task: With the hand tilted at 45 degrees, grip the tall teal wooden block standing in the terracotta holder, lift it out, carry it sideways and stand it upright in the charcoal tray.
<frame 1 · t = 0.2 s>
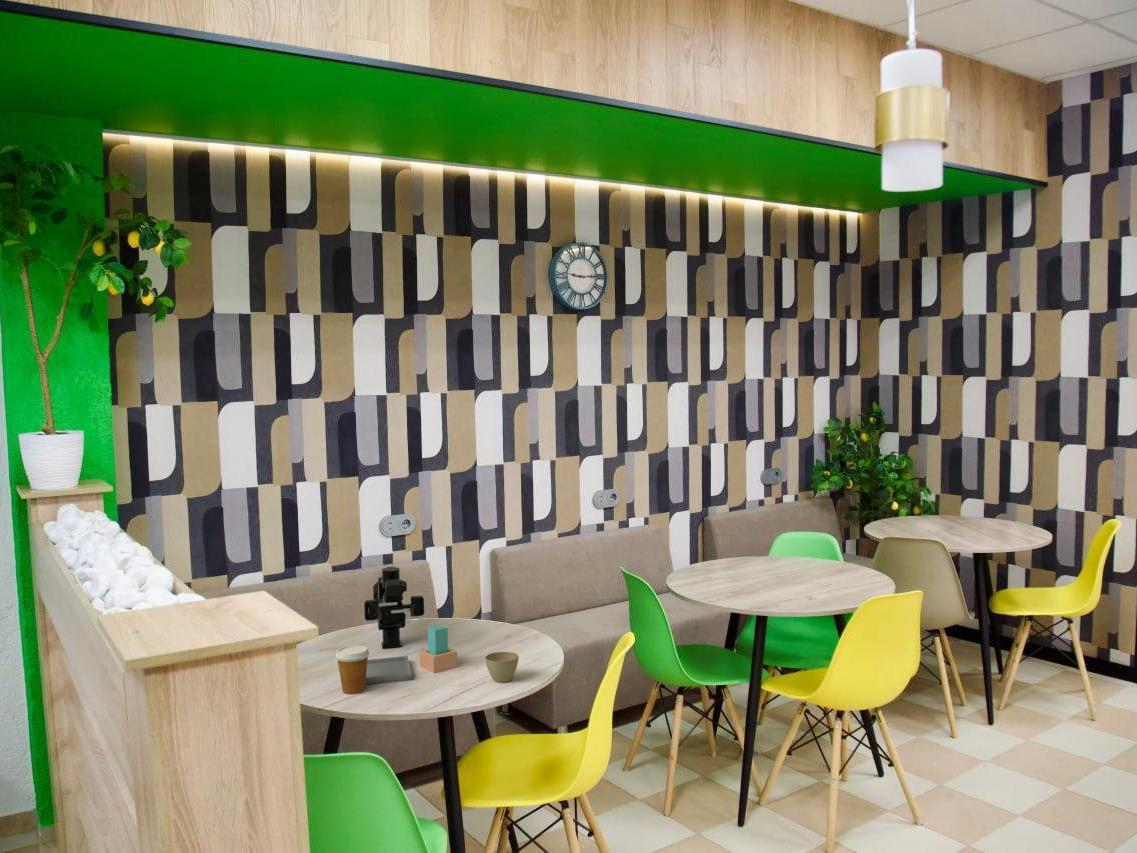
hand: (396, 615, 284), 17 cm above the table, tool horizontal, fingers open, 9 cm apart
holder: (438, 667, 285), on the table
flower pot: (502, 680, 272), on the table
tray: (383, 673, 280), on the table
disposable coffee cup: (353, 691, 265), on the table
teal block: (438, 647, 285), in the holder
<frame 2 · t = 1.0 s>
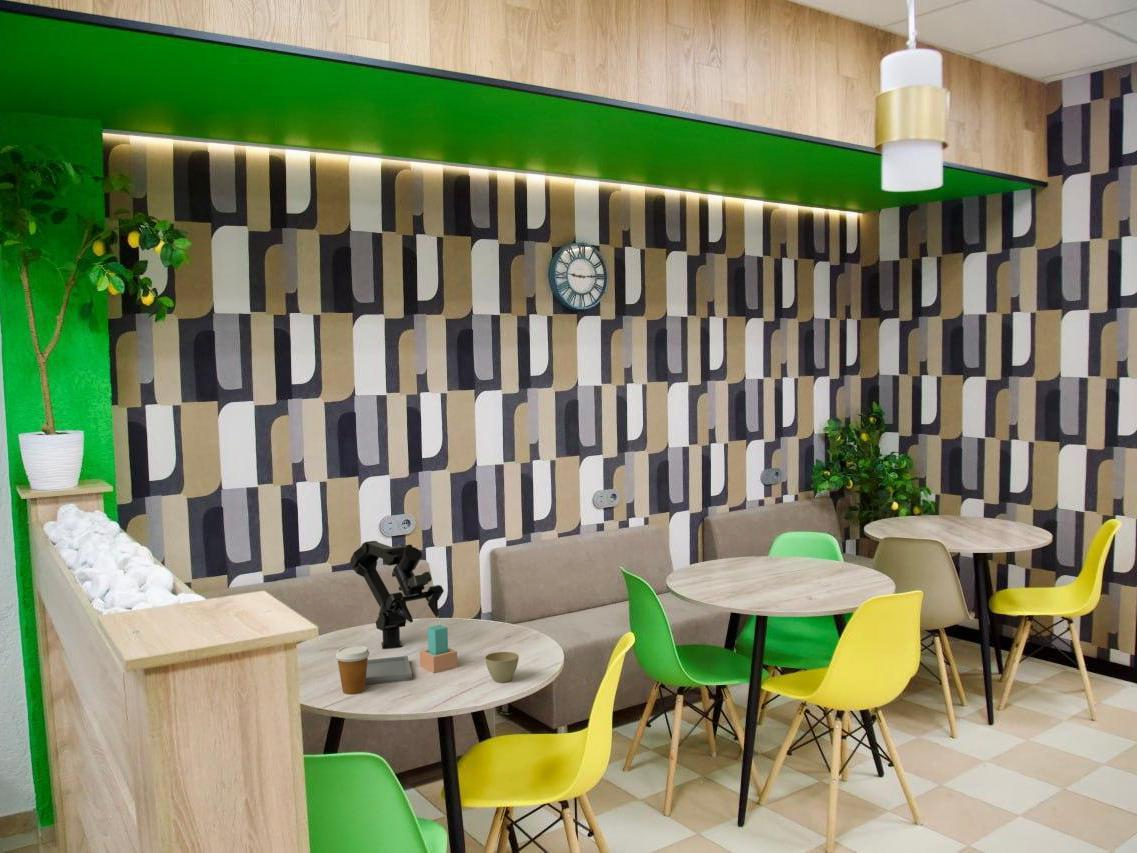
hand: (424, 619, 290), 14 cm above the table, tool tilted 45°, fingers open, 9 cm apart
nothing on the table moved.
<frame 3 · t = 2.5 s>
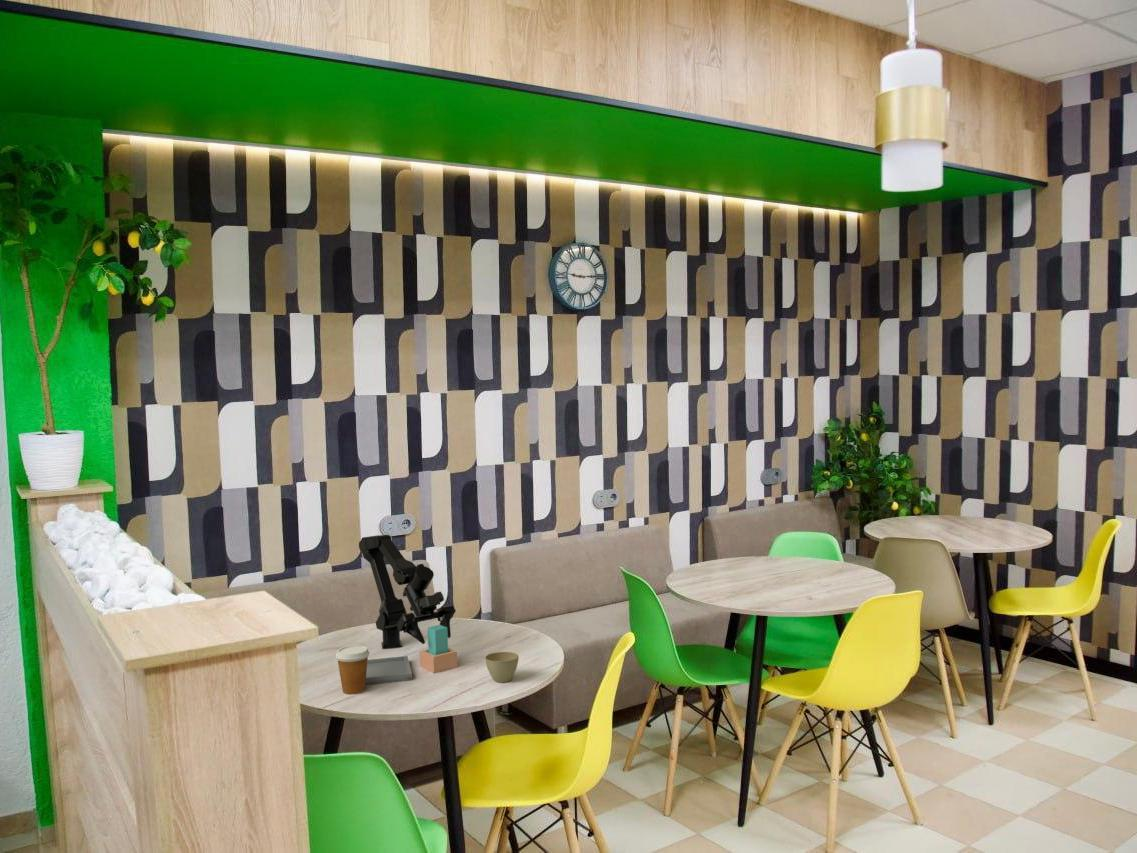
hand: (437, 640, 285), 8 cm above the table, tool tilted 45°, fingers open, 9 cm apart
nothing on the table moved.
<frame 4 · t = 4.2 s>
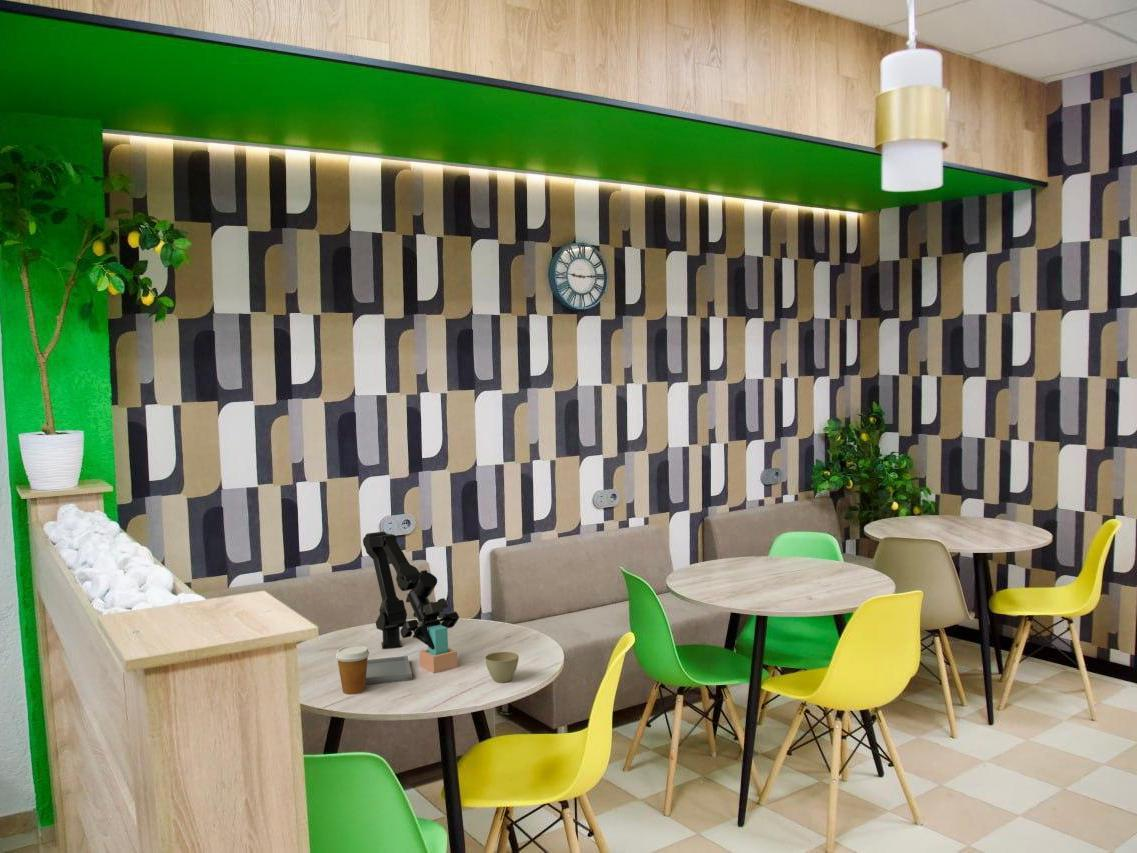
hand: (440, 647, 283), 7 cm above the table, tool tilted 45°, fingers closed on teal block, 4 cm apart
teal block: (438, 647, 285), in the holder, touching gripper
everything else where it was.
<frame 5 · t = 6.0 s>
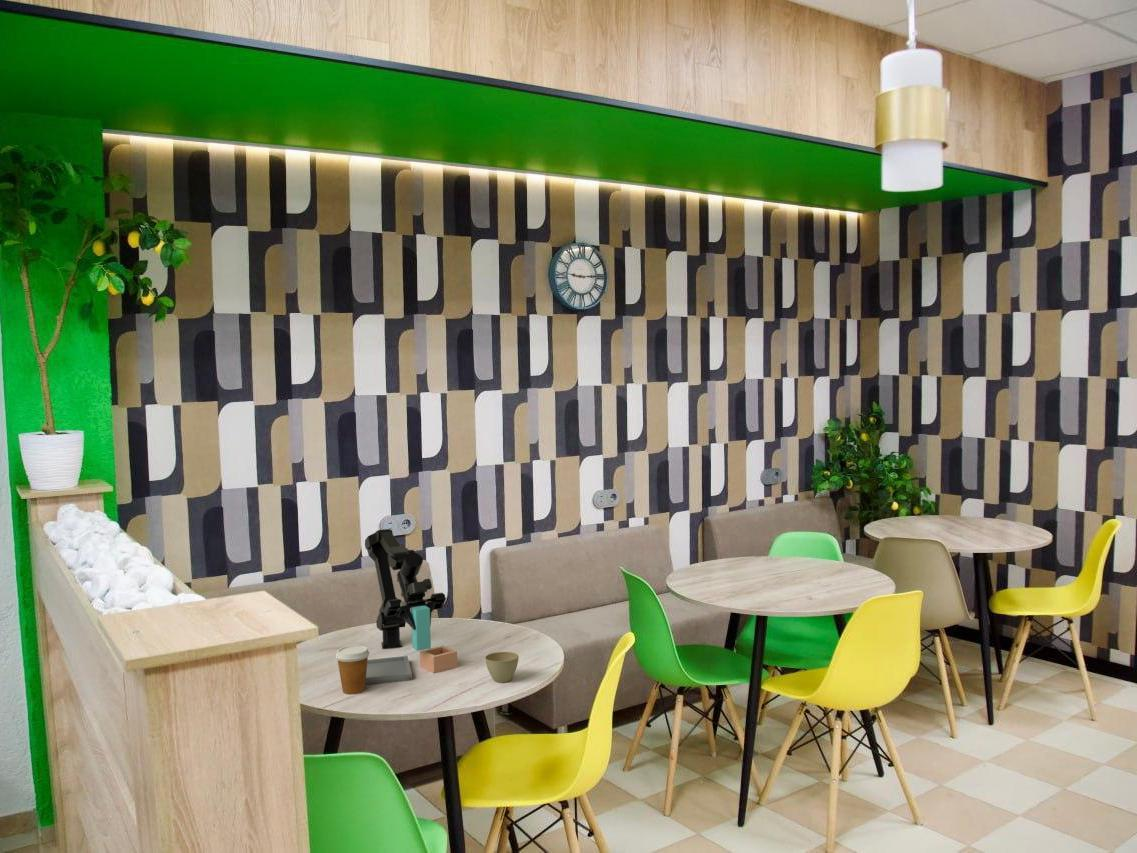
hand: (422, 627, 281), 13 cm above the table, tool tilted 45°, fingers closed on teal block, 4 cm apart
teal block: (421, 627, 282), point 13 cm above the table, touching gripper
everything else where it was.
when the fingers open (9 cm above the table, at t = 8.2 s): teal block drops 1 cm, resting on tray.
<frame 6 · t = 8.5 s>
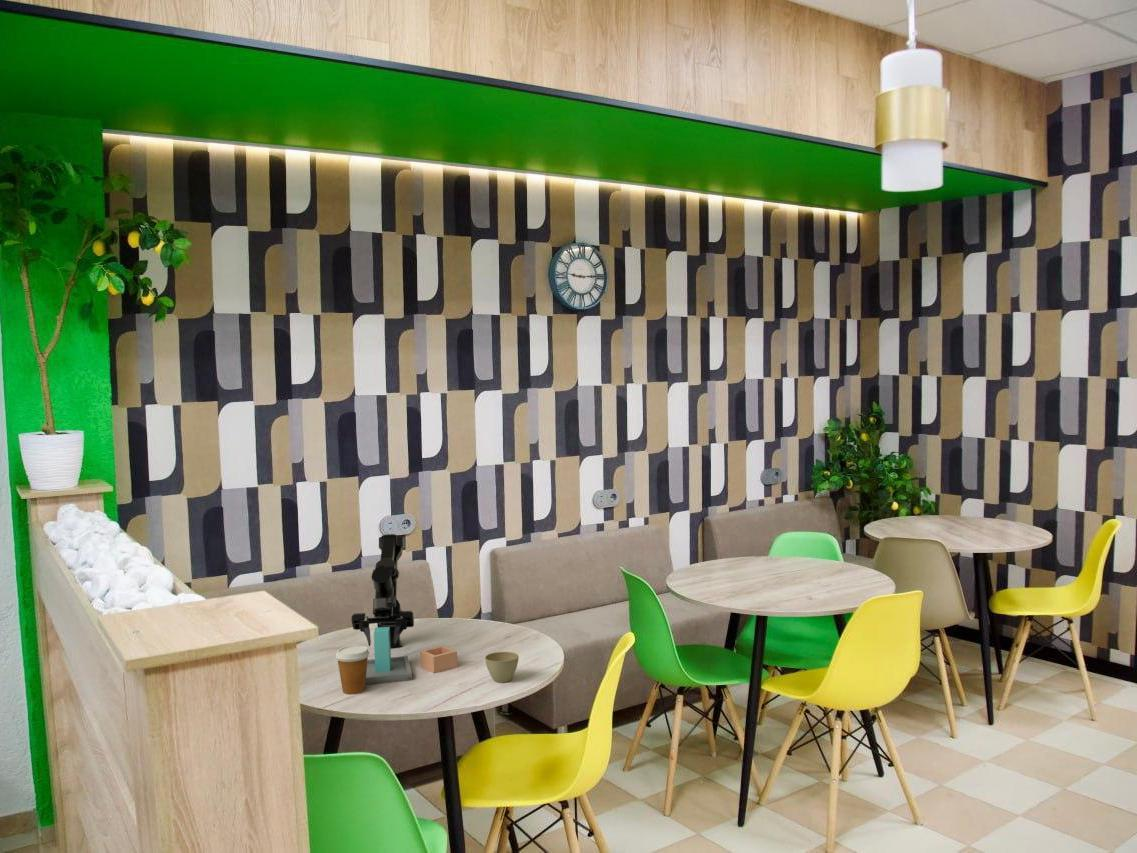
hand: (381, 644, 279), 9 cm above the table, tool tilted 45°, fingers open, 7 cm apart
teal block: (382, 649, 280), in the tray, point 7 cm above the table
everything else where it was.
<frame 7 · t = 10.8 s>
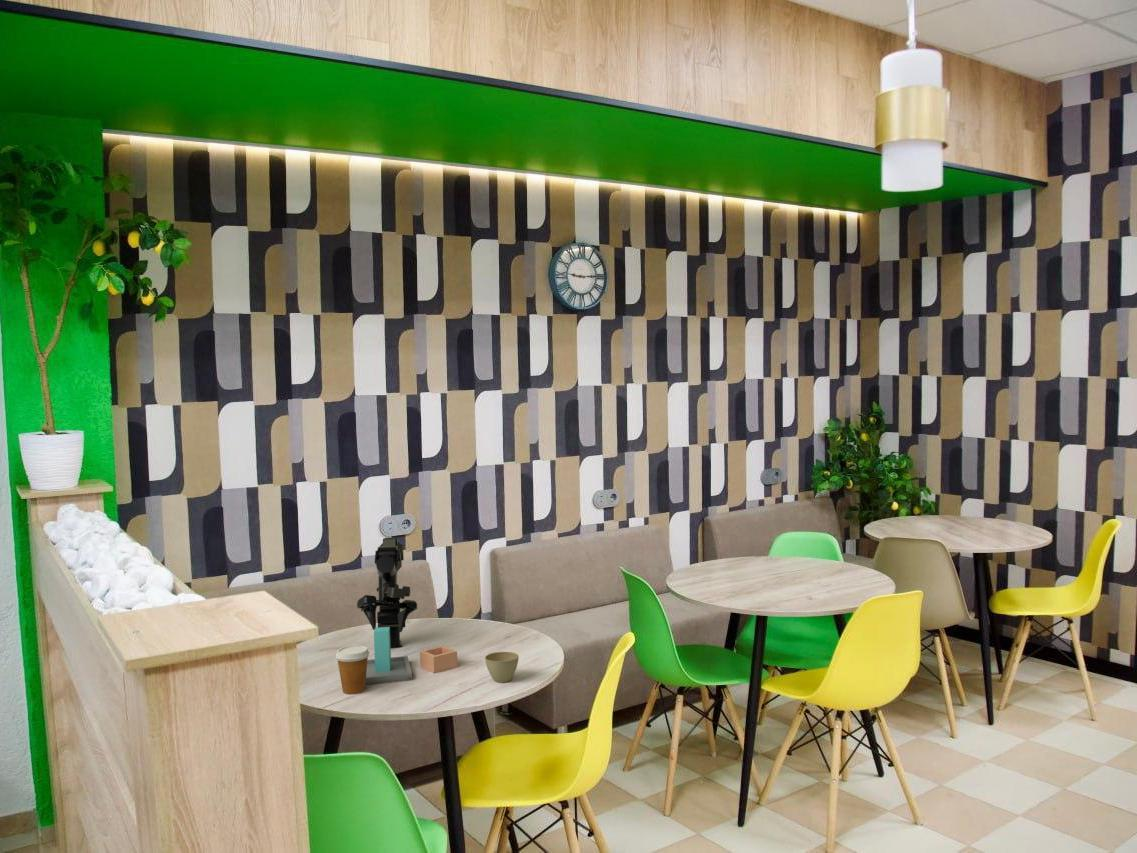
hand: (387, 630, 289), 10 cm above the table, tool tilted 30°, fingers open, 9 cm apart
nothing on the table moved.
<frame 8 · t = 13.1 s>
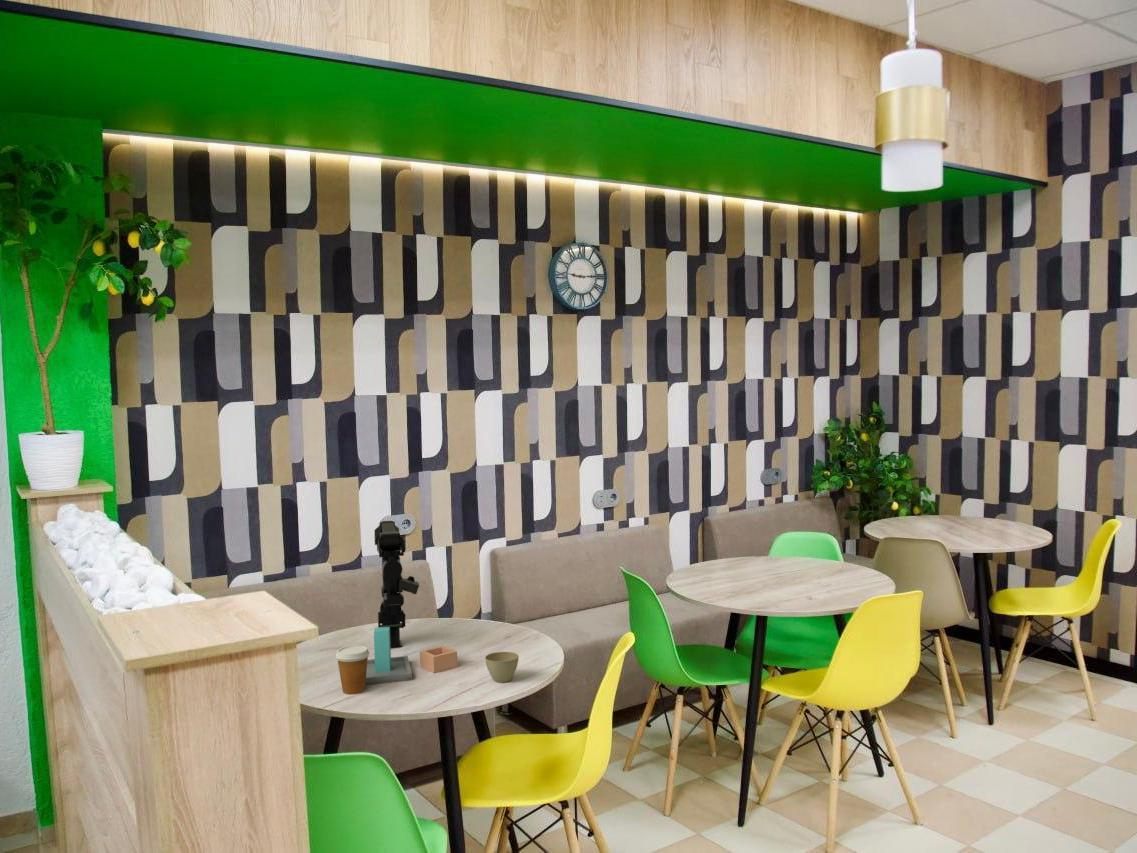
hand: (393, 620, 292), 13 cm above the table, tool pointing down, fingers open, 9 cm apart
nothing on the table moved.
at the end: teal block inside the target area on the tray (0.9 cm from its centre), point 7.2 cm above the tray's base; teal block tilted 0°; the gripper is holding nothing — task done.
